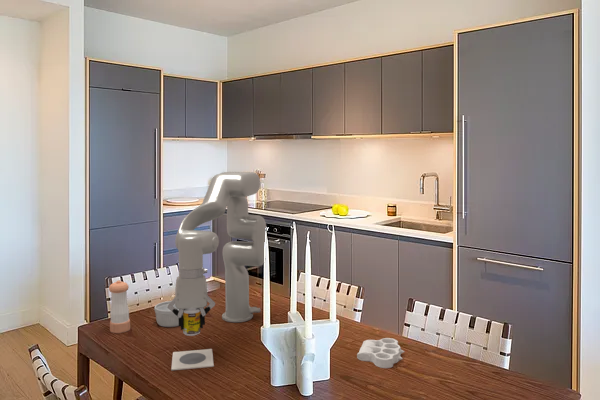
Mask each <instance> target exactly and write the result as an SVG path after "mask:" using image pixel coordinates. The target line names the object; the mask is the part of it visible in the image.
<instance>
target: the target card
mask: <svg viewBox="0 0 600 400" xmlns="http://www.w3.org/2000/svg"><path fill="white" fill-rule="evenodd" d="M212 367H215V365H214V355H213V349H212V348H206V349H196V350H195V349H194V350H183V351H173V352H172V359H171V369H170V370H171V371H181V370H191V369H201V368H203V369H204V368H212Z"/></svg>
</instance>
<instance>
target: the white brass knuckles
mask: <svg viewBox="0 0 600 400" xmlns="http://www.w3.org/2000/svg"><path fill="white" fill-rule="evenodd" d="M403 353H405V350H403V349H402V348H401V346H400V345H399V341H398V340H397V339H395V338H392V337H391V338H390V337H385V338H384V337H383V338H381V339H377V340H375V339H366V340H364V341H362V345H361V347H359V352H357V354H356V358H357V359H358V360H359V361H361V362H369V363H370V362H371V363H373V364H374V366H376V367H379V368H380V369H390V368H393V367H394V364H397V363H398V362H400V361H401V360H404V358H403V357H402V356H401V354H403Z"/></svg>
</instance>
